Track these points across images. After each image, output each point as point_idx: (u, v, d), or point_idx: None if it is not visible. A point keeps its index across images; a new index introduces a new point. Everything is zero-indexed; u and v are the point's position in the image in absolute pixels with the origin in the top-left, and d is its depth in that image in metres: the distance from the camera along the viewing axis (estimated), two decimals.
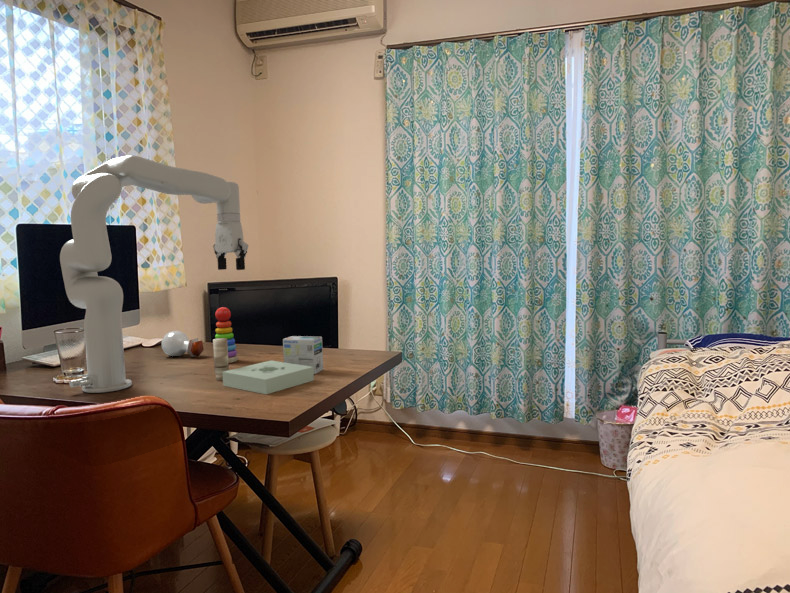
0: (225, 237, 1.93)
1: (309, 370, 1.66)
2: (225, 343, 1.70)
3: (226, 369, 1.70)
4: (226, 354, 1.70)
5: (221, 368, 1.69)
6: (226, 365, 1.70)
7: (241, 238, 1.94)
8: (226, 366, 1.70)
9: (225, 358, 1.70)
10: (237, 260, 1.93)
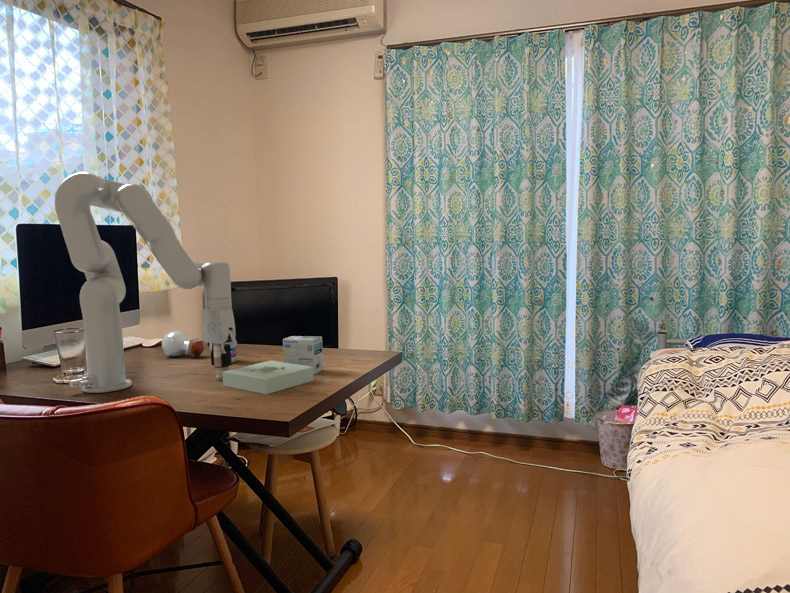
0: (214, 326, 1.67)
1: (309, 370, 1.66)
2: None
3: (226, 369, 1.70)
4: None
5: (221, 368, 1.69)
6: None
7: (232, 327, 1.68)
8: None
9: None
10: (222, 356, 1.68)
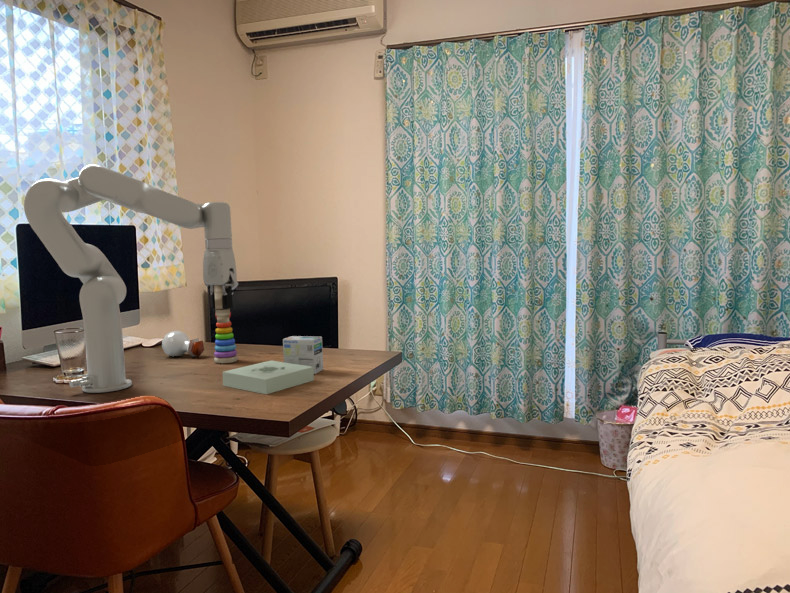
0: (215, 267, 1.65)
1: (309, 370, 1.66)
2: None
3: (227, 311, 1.68)
4: None
5: (222, 310, 1.67)
6: None
7: (233, 268, 1.66)
8: None
9: None
10: (223, 298, 1.66)
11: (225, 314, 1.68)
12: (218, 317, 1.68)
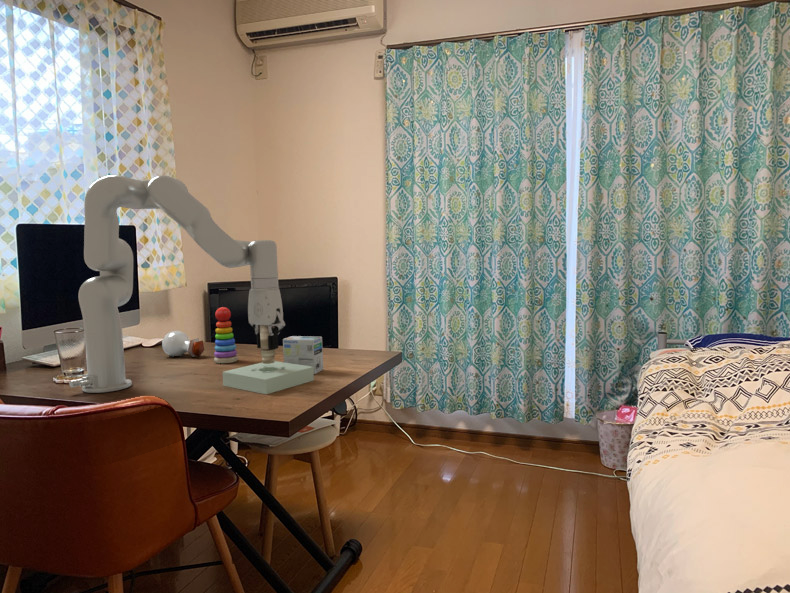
0: (261, 307, 1.60)
1: (309, 370, 1.66)
2: None
3: (273, 352, 1.64)
4: None
5: (268, 350, 1.63)
6: None
7: (280, 308, 1.61)
8: (273, 349, 1.64)
9: None
10: (270, 338, 1.62)
11: (271, 355, 1.63)
12: (264, 358, 1.63)
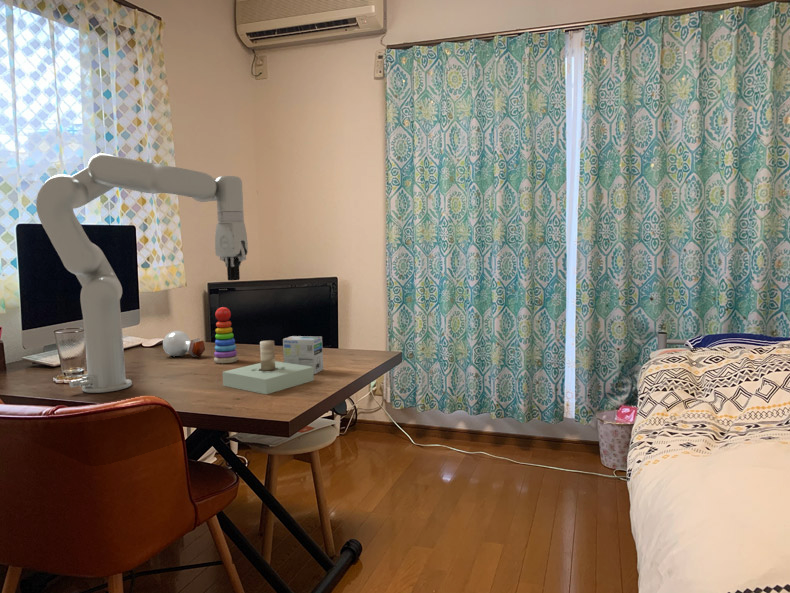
0: (226, 239, 1.70)
1: (309, 370, 1.66)
2: (272, 346, 1.64)
3: None
4: (273, 357, 1.64)
5: None
6: (273, 368, 1.64)
7: (245, 240, 1.70)
8: (273, 369, 1.64)
9: (272, 361, 1.64)
10: (231, 269, 1.72)
11: None
12: None
